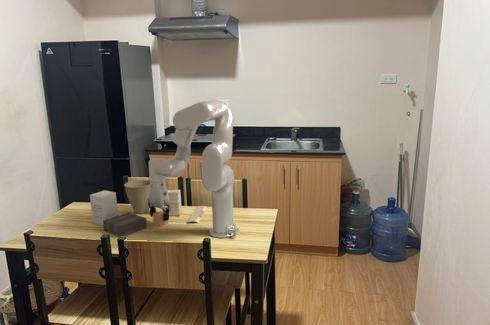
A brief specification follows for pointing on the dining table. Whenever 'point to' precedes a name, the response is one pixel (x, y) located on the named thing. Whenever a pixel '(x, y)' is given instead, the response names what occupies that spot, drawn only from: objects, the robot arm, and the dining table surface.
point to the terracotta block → (159, 219)
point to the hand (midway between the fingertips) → (159, 218)
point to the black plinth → (124, 224)
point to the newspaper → (197, 214)
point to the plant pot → (138, 195)
